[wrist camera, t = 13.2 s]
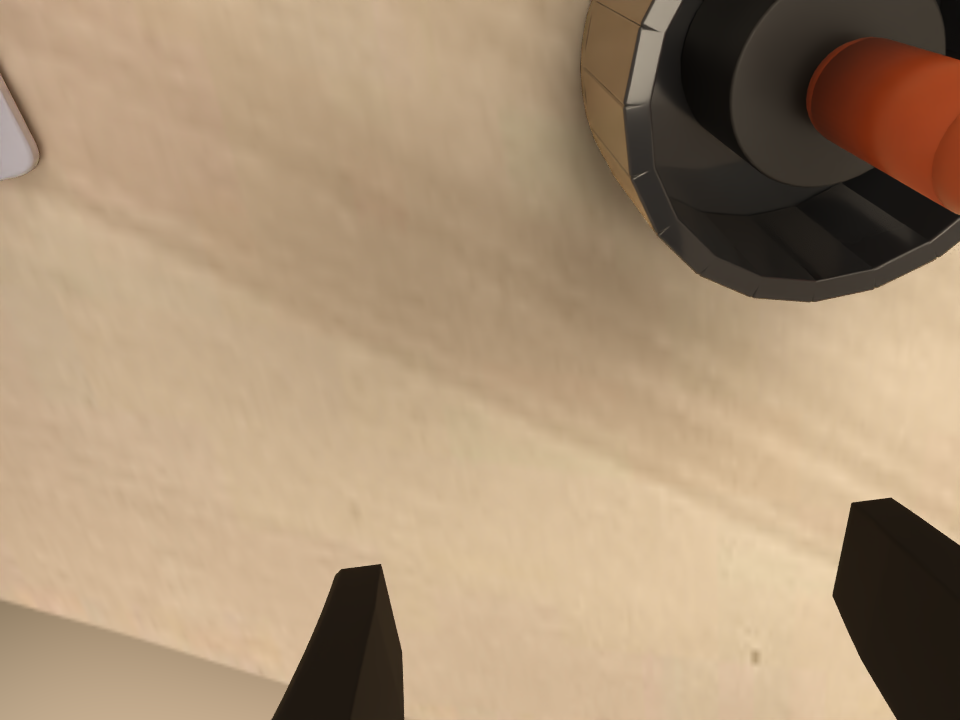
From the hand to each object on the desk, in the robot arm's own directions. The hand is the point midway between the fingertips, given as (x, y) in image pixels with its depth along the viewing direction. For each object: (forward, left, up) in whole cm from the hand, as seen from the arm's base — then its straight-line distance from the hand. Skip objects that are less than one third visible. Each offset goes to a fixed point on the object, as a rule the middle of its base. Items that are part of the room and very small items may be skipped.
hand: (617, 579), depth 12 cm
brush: (+6, +5, -9) cm, 12 cm away
